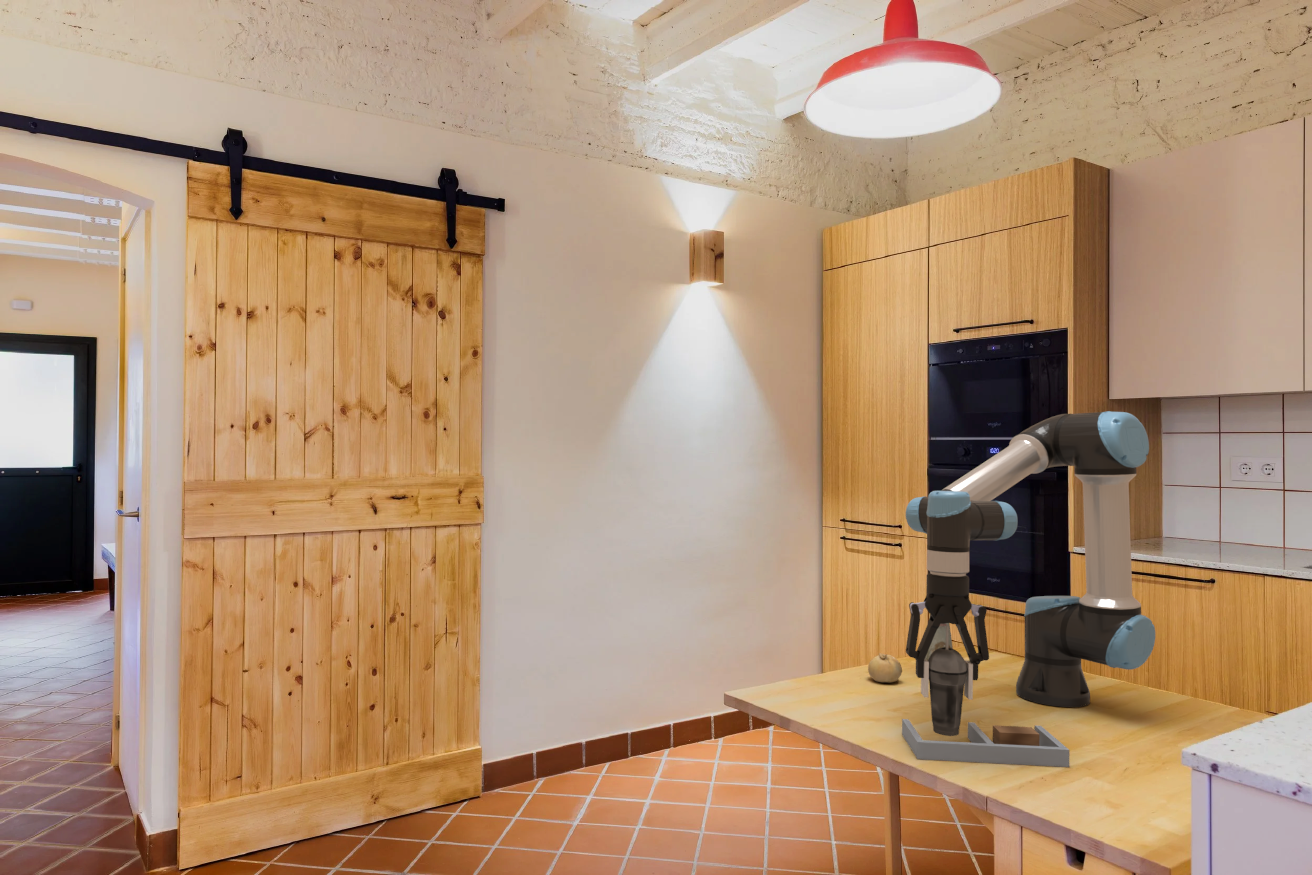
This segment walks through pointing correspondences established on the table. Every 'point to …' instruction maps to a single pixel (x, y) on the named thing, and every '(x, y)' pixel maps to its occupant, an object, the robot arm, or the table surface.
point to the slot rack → (988, 748)
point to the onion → (884, 668)
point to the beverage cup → (946, 688)
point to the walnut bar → (1015, 735)
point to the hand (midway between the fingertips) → (946, 696)
